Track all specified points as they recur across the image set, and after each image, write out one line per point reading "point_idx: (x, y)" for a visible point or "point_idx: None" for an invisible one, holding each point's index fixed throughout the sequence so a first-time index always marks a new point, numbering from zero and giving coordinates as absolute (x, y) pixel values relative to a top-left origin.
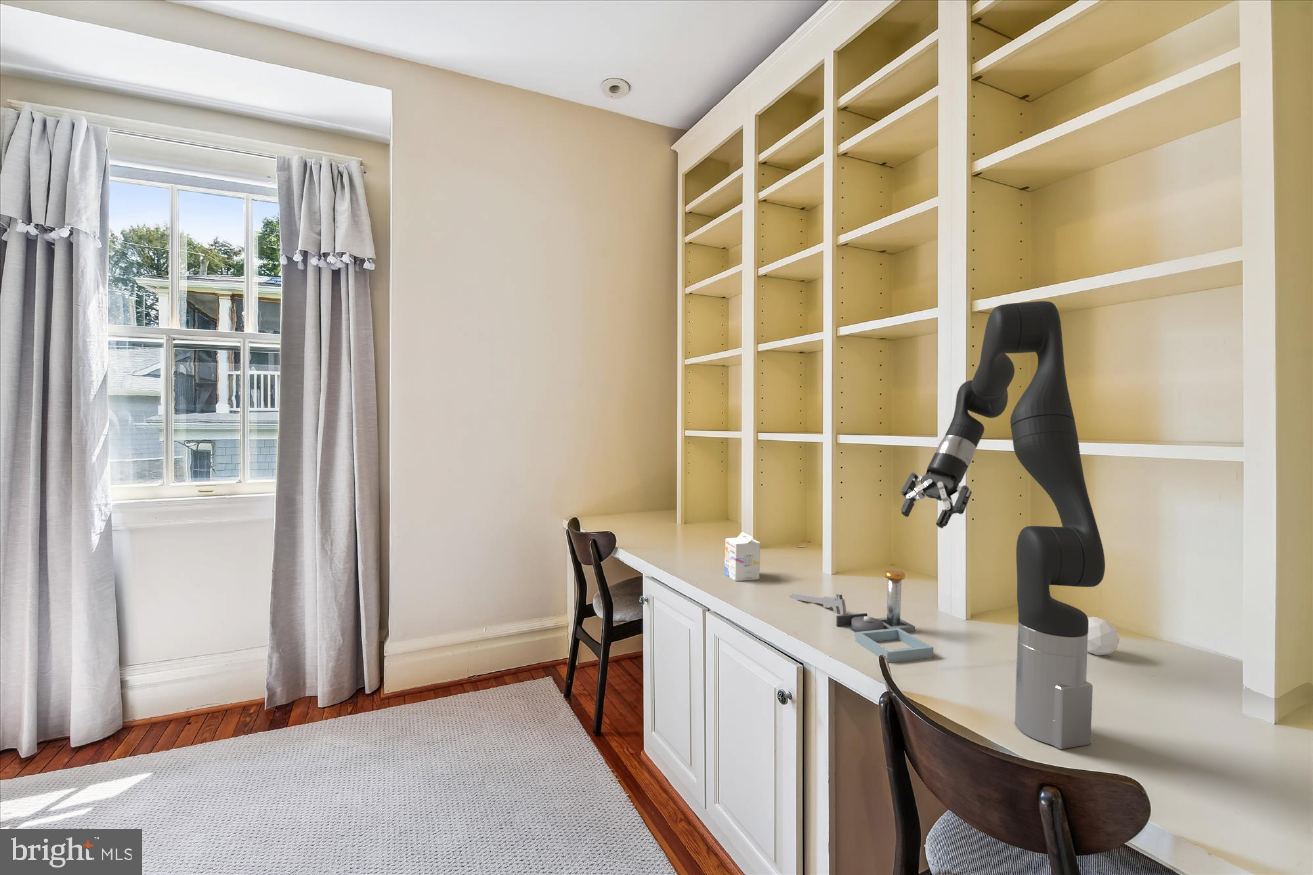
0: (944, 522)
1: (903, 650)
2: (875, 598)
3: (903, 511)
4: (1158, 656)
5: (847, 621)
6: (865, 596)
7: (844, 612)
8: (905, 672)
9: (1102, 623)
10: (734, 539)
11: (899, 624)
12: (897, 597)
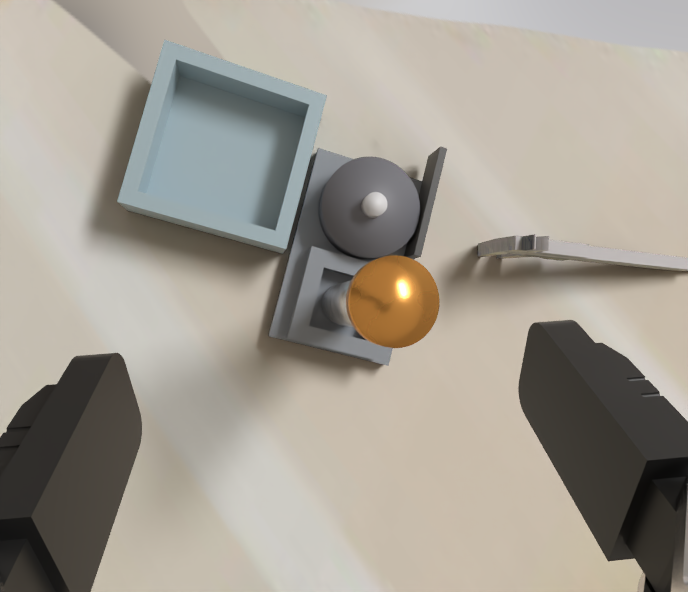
0: (25, 410)
1: (149, 96)
2: (567, 506)
3: (557, 328)
4: None
5: (424, 186)
6: None
7: (487, 248)
8: (120, 76)
9: None
10: None
11: (324, 307)
12: (344, 292)
